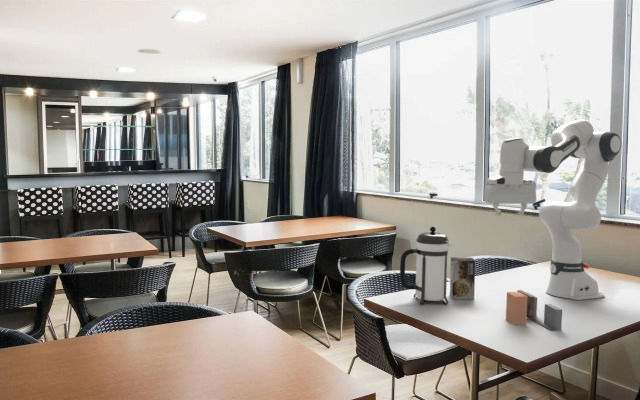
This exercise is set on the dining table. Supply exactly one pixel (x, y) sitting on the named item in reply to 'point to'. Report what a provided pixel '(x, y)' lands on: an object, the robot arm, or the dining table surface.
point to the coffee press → (429, 266)
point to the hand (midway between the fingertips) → (509, 215)
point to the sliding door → (529, 303)
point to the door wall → (548, 316)
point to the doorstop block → (516, 308)
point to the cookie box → (462, 278)
